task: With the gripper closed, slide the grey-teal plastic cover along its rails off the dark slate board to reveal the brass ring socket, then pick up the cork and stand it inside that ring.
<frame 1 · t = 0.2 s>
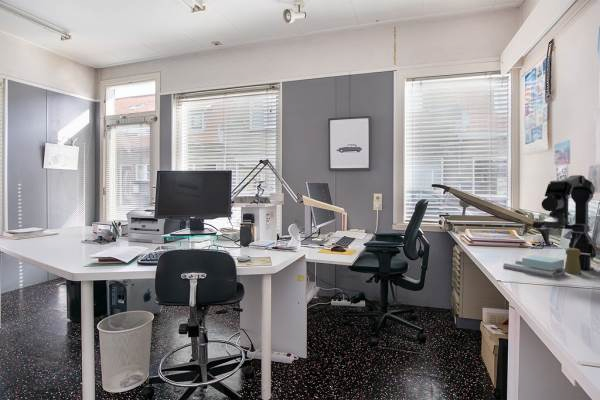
hand: (559, 246, 141), 13 cm above the table, fingers open, 9 cm apart
cover: (542, 262, 149), point 5 cm above the table, slide at 0.0 cm
cork: (572, 273, 148), on the table
board: (532, 270, 152), on the table
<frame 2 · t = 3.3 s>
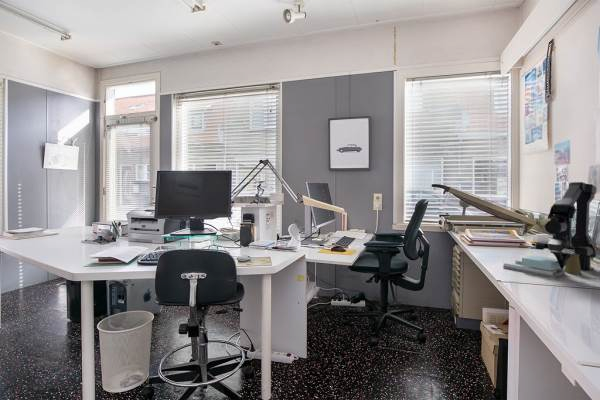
hand: (562, 268, 142), 3 cm above the table, fingers closed
cover: (542, 262, 149), point 5 cm above the table, slide at 0.1 cm, touching gripper
everything else where it was.
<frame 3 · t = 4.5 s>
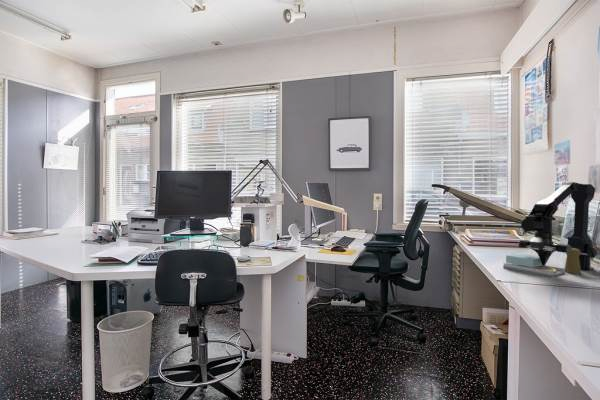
hand: (543, 265, 148), 4 cm above the table, fingers closed
cover: (525, 259, 155), point 5 cm above the table, slide at 7.1 cm, touching gripper
everything else where it was.
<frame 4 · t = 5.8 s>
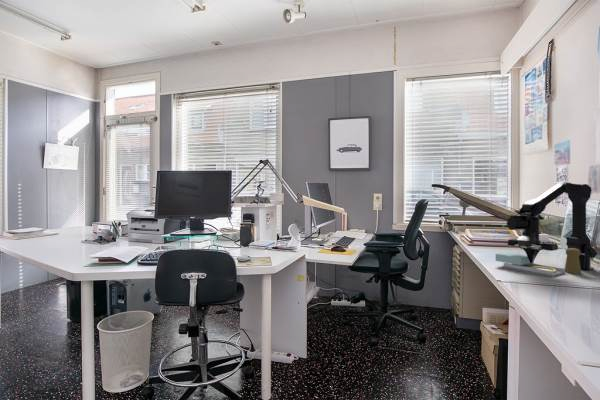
hand: (531, 262, 153), 4 cm above the table, fingers closed
cover: (514, 257, 159), point 5 cm above the table, slide at 12.0 cm, touching gripper
everything else where it was.
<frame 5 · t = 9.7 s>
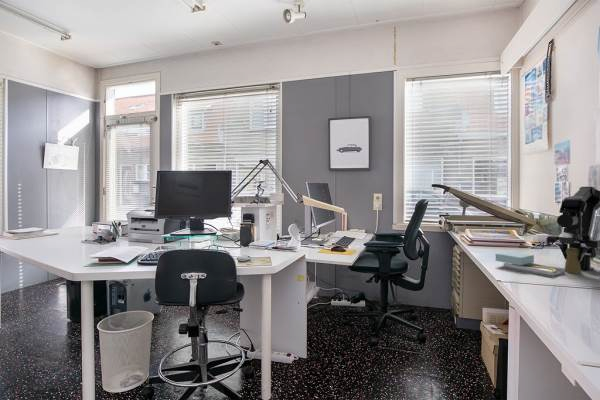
hand: (572, 260, 148), 6 cm above the table, fingers closed on cork, 5 cm apart
cover: (514, 257, 159), point 5 cm above the table, slide at 12.0 cm
cork: (572, 273, 148), on the table, touching gripper
when the fingers open (7 cm above the table, at t = 12.6 s): cork stays where it is, resting on board.
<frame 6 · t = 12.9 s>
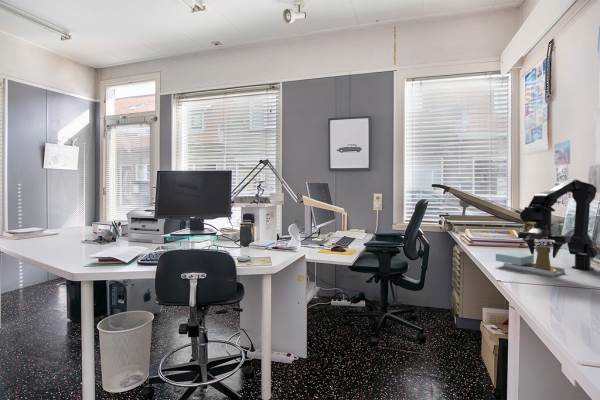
hand: (542, 256, 149), 7 cm above the table, fingers open, 8 cm apart
cork: (542, 270, 149), point 1 cm above the table, touching board
everything else where it was.
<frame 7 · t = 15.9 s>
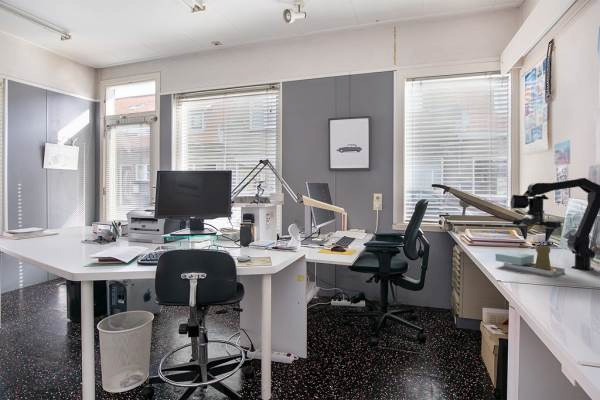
hand: (535, 240, 161), 13 cm above the table, fingers open, 9 cm apart
nothing on the table moved.
at the end: cork 0.1 cm from the target spot on the board, point 0.9 cm above the board's base; cork tilted 0°; cover slide at 12.0 cm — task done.
